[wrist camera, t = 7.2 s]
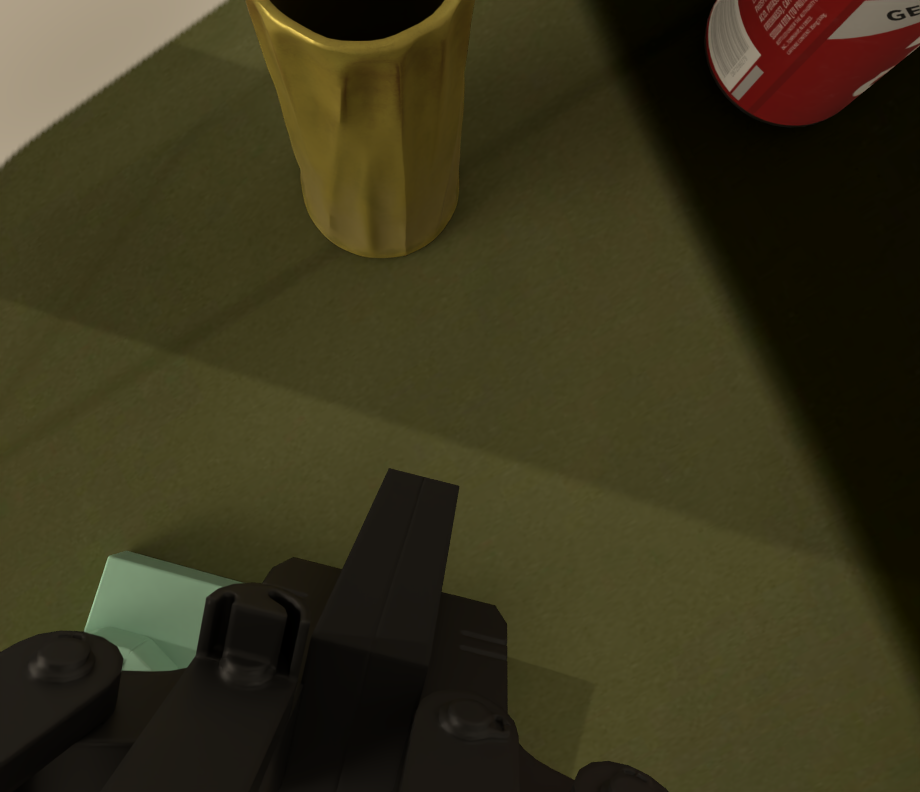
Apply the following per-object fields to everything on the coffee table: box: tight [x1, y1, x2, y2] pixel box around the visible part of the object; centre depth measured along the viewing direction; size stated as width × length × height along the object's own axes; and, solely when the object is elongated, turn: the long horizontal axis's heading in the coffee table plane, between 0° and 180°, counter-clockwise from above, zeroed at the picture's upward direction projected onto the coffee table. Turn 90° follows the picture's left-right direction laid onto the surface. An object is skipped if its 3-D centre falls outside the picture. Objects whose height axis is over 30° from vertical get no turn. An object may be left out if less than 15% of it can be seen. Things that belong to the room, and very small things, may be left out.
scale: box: [84, 551, 242, 671], centre depth 26 cm, size 13×10×4 cm
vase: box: [246, 0, 475, 258], centre depth 23 cm, size 6×6×14 cm
